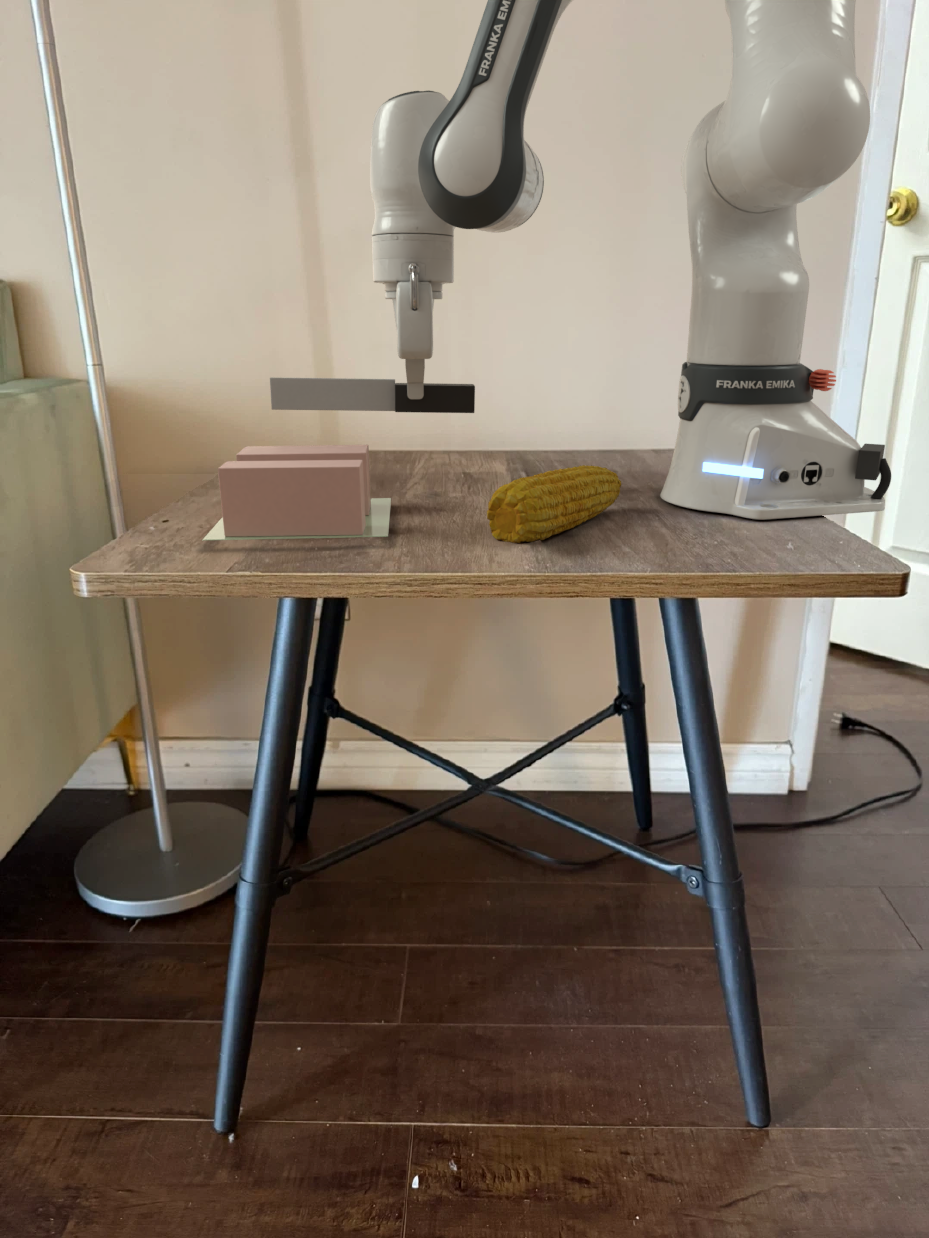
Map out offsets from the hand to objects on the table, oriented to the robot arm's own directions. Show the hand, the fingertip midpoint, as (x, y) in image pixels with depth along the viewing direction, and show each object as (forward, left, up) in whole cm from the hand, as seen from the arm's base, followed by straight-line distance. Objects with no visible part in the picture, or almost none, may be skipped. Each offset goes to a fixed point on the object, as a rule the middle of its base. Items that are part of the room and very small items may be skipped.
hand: (415, 397), depth 98 cm
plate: (+11, +20, -10) cm, 25 cm away
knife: (+5, 0, -1) cm, 5 cm away
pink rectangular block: (+11, +17, -9) cm, 23 cm away
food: (-13, +23, -10) cm, 28 cm away
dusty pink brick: (+11, +26, -9) cm, 29 cm away
